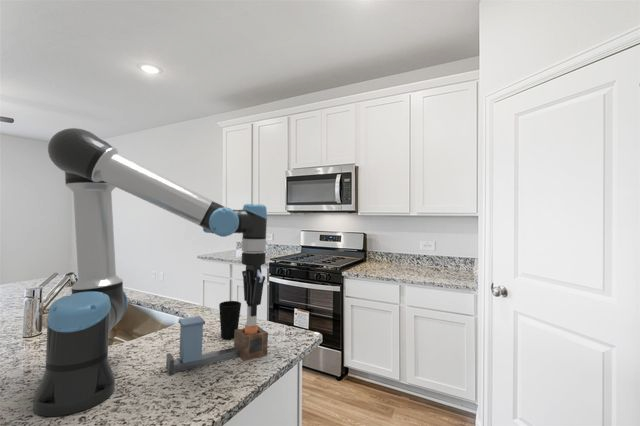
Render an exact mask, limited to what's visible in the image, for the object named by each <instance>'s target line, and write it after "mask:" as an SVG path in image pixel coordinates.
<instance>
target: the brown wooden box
mask: <svg viewBox="0 0 640 426" xmlns="http://www.w3.org/2000/svg"><path fill="white" fill-rule="evenodd" d="M268 341H269V332H268V331H266V330H265V329H263V328H261V326H259V325H258V330H257V333H256V334H251V335H246V334H245V327H243V328H238V329H237V330H235V332H234V339H233V348H234V347H236V348H237V349H238V350H239V357H238V358H239V359H240V360H242V362H245V361H249V360H255V359H258V358H261V357H266V356H268V348H269V347H268V344H269V343H268Z"/></svg>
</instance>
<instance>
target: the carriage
mask: <svg viewBox="0 0 640 426" xmlns="http://www.w3.org/2000/svg"><path fill="white" fill-rule="evenodd" d="M178 323H179V325H180V327H179V328H180V331H179V332H180V333H179V355H178V356H179V359H181V360H182V362H183V363H187V362H191V361H196V360H200V359H202V354H203V334H204V325H205V324H206V320H204V319H203V317H201V316H200V315H198V316H191V317H186V318H180V319H178Z"/></svg>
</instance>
